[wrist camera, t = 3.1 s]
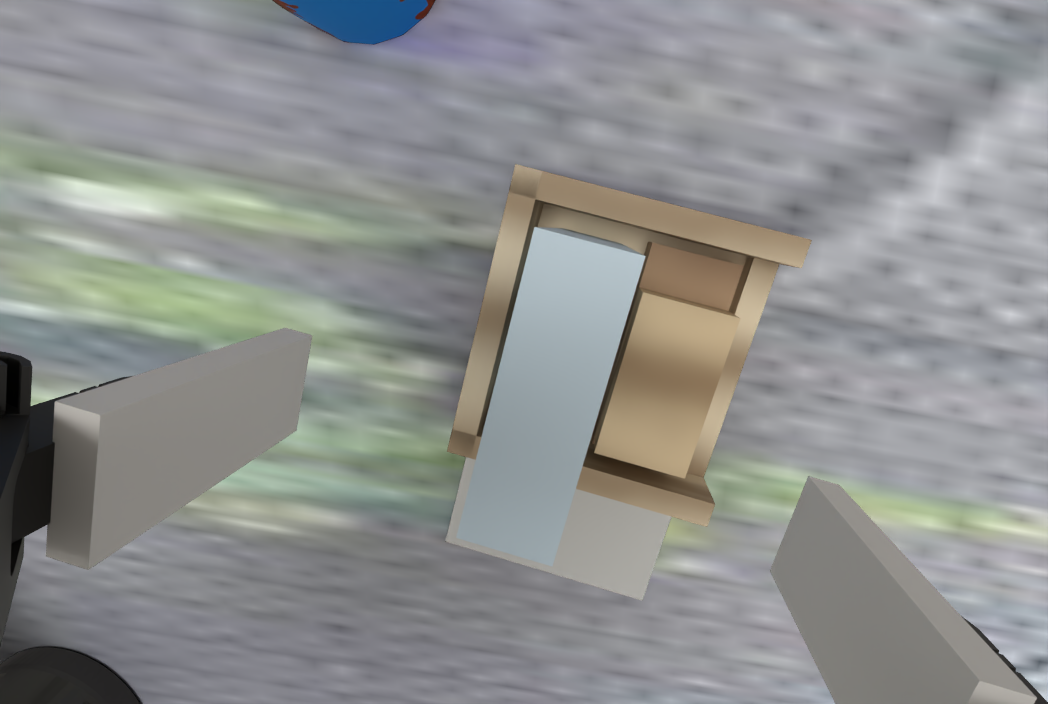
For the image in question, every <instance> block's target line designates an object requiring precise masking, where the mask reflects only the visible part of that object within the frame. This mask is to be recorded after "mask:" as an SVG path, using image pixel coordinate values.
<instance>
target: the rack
mask: <svg viewBox="0 0 1048 704" xmlns="http://www.w3.org/2000/svg"><path fill="white" fill-rule="evenodd" d="M534 227H545V228H564V229H568V230H572V231H575V232H579V233H583V234H587V235H591V236H595V237H598V238H602V239H606V240H610V241H614V242H618V243H621V244H623V245H625V246H627V247H629V248H631V249H633V250H635V251H637V252H638V253H640V254H642V255H644V253H645V250H646V247H647V243H648V242H653V243H657V244H660V245H664V246H668V247H672V248H676V249H680V250H683V251H687V252H691V253H695V254H699V255H703V256H706V257H710V258H714V259H718V260H722V261H726V262H730V263H733V264H737V265H741V266H744V267H743V270H742V273H741V276H740V278H739V281H738V284H737V287H736V290H735V293H734V296H733V299H732V302H731V305H730V308H729V312H731V313H733V314H734V315H736V316H738V317H739V318H741V319H740V321H739V324H738V327H737V330H736V333H735V336H734V339H733V342H732V345H731V347H730V350H729V353H728V356H727V359H726V362H725V365H724V368H723V370H722V373H721V376H720V379H719V382H718V385H717V388H716V391H715V393H714V396H713V399H712V402H711V405H710V408H709V411H708V414H707V416H706V419H705V422H704V425H703V428H702V431H701V434H700V437H699V439H698V442H697V445H696V448H695V451H694V454H693V457H692V460H691V462H690V465H689V468H688V471H687V474H686V477H685V479H684V478H680V477H677V476H673V475H670V474H666V473H663V472H659V471H656V470H652V469H649V468H645V467H642V466H638V465H635V464H631V463H628V462H624V461H621V460H617V459H614V458H610V457H607V456H603V455H600V454H596V453H594V444H593V443H592V436H591V440H590V443H589V446H588V450H587V453H586V456H585V460H584V463H583V466H582V470H581V473H580V476H579V480H578V483H577V486H576V489H578V490H581V491H585V492H588V493H592V494H595V495H599V496H602V497H606V498H609V499H613V500H616V501H619V502H623V503H626V504H630V505H633V506H637V507H640V508H644V509H647V510H650V511H654V512H657V513H661V514H664V515H668V516H671V517H675V518H678V519H682V520H685V521H688V522H692V523H695V524H699V525H702V526H706V527H707V526H708V523H709V520H710V517H711V515H712V512H713V509H714V506H715V503H714V501H713V498H712V496H711V494H710V492H709V489H708V487H707V485H706V482H705V480H704V478H703V477H704V475H705V472H706V469H707V466H708V463H709V460H710V458H711V455H712V452H713V449H714V446H715V444H716V441H717V438H718V435H719V432H720V430H721V427H722V424H723V421H724V418H725V416H726V413H727V410H728V407H729V404H730V401H731V399H732V396H733V393H734V390H735V387H736V385H737V382H738V379H739V376H740V373H741V371H742V368H743V365H744V362H745V359H746V357H747V354H748V351H749V348H750V345H751V342H752V340H753V337H754V334H755V331H756V328H757V326H758V323H759V320H760V317H761V314H762V312H763V309H764V306H765V303H766V300H767V297H768V295H769V292H770V289H771V286H772V283H773V281H774V278H775V275H776V272H777V269H778V267H779V264H782V265H787V266H793V267H798V268H802V266H803V263H804V260H805V257H806V255H807V252H808V249H809V246H810V244H811V241H812V240H810V239H806V238H802V237H798V236H794V235H790V234H786V233H782V232H778V231H774V230H771V229H767V228H763V227H759V226H755V225H751V224H747V223H743V222H739V221H735V220H731V219H728V218H724V217H720V216H716V215H712V214H708V213H704V212H700V211H696V210H692V209H689V208H685V207H681V206H677V205H673V204H669V203H665V202H661V201H657V200H653V199H649V198H646V197H642V196H638V195H634V194H630V193H626V192H622V191H618V190H614V189H610V188H606V187H603V186H599V185H595V184H591V183H587V182H583V181H579V180H575V179H571V178H567V177H564V176H560V175H556V174H552V173H548V172H544V171H540V170H536V169H532V168H528V167H524V166H521V165H517V164H515V168H514V172H513V177H512V181H511V185H510V189H509V193H508V198H507V202H506V206H505V210H504V214H503V219H502V223H501V227H500V231H499V235H498V240H497V244H496V248H495V252H494V256H493V260H492V265H491V269H490V273H489V277H488V281H487V286H486V290H485V294H484V298H483V302H482V307H481V311H480V315H479V319H478V323H477V328H476V332H475V336H474V340H473V344H472V349H471V353H470V357H469V361H468V365H467V370H466V374H465V378H464V382H463V386H462V391H461V395H460V399H459V403H458V407H457V411H456V416H455V420H454V424H453V428H452V432H451V437H450V441H449V445H448V449H447V452H450V453H454V454H457V455H461V456H464V457H468V458H471V459H475V460H476V457H477V453H478V449H479V445H480V441H481V437H482V433H483V429H484V425H485V421H486V417H487V413H488V409H489V405H490V401H491V397H492V394H493V390H494V386H495V382H496V378H497V374H498V370H499V366H500V362H501V358H502V354H503V350H504V346H505V342H506V338H507V334H508V330H509V326H510V322H511V318H512V314H513V310H514V306H515V302H516V298H517V294H518V290H519V286H520V282H521V278H522V275H523V271H524V267H525V263H526V259H527V255H528V251H529V247H530V243H531V239H532V235H533V231H534Z"/></svg>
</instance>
